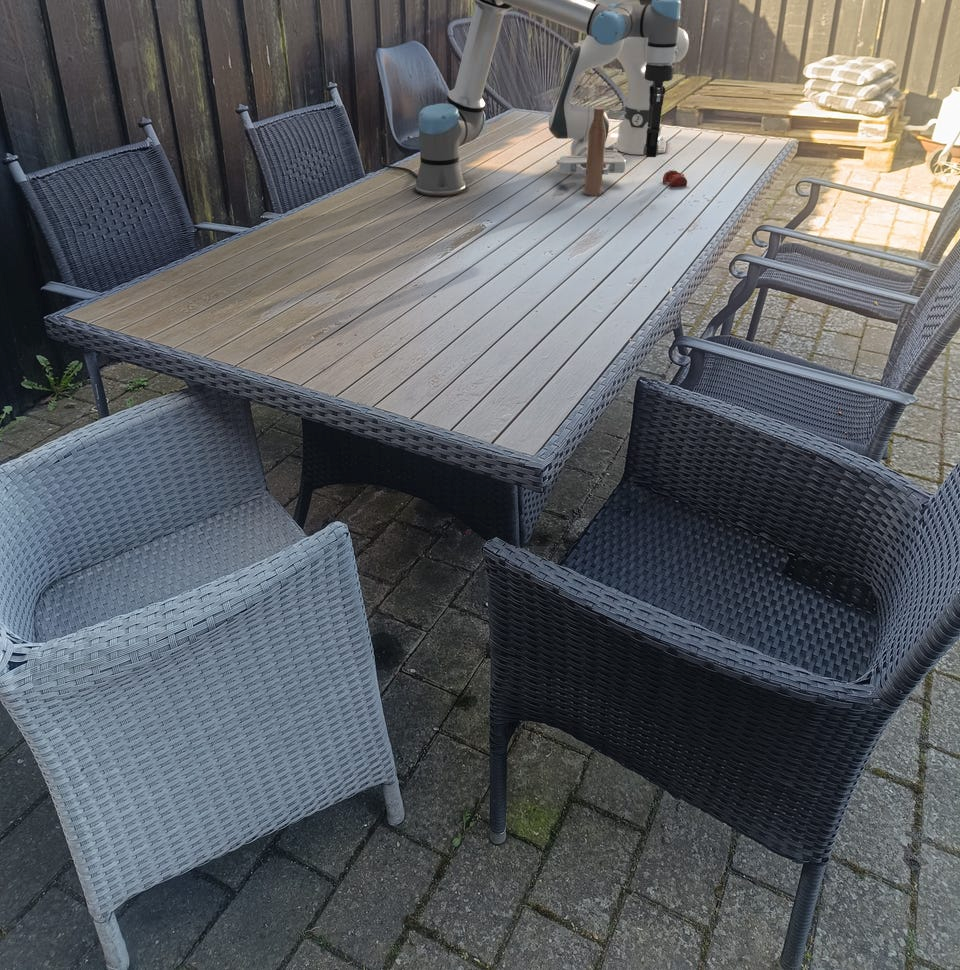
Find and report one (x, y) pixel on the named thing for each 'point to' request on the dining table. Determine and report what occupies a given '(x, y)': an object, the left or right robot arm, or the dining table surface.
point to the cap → (646, 149)
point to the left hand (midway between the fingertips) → (650, 154)
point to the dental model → (675, 179)
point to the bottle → (595, 154)
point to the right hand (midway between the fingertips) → (594, 171)
